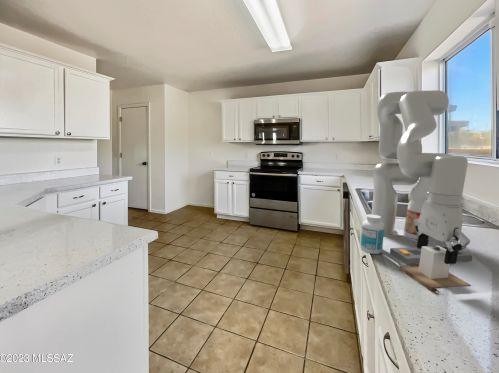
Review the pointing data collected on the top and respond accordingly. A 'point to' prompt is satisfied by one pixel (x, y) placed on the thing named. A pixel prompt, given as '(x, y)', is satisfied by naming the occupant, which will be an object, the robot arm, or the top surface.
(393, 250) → the power strip
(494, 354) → the top surface
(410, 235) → the fruit juice
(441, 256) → the block
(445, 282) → the walnut mat
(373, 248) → the pill bottle
